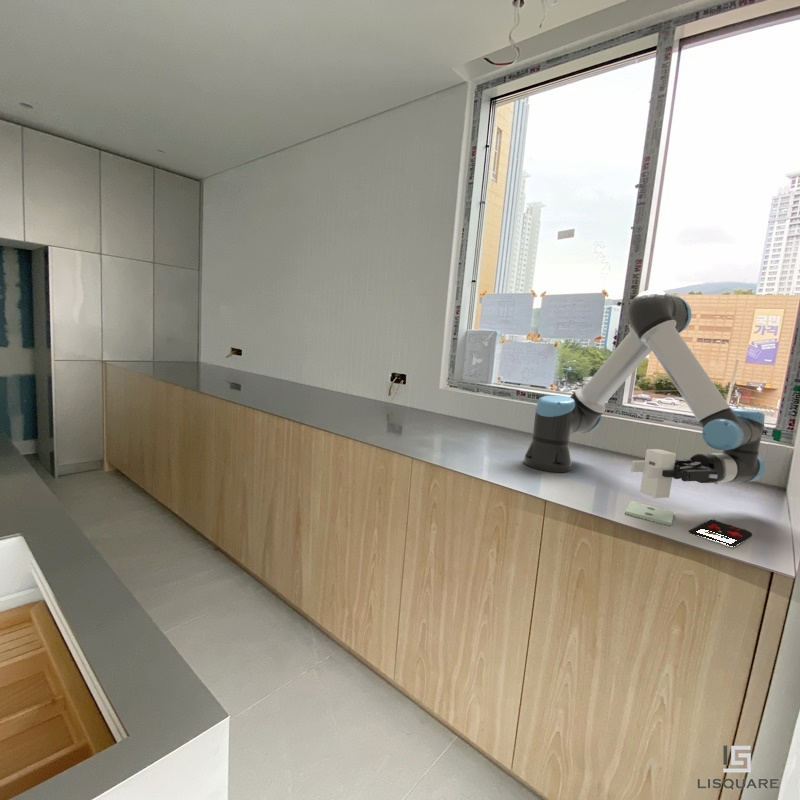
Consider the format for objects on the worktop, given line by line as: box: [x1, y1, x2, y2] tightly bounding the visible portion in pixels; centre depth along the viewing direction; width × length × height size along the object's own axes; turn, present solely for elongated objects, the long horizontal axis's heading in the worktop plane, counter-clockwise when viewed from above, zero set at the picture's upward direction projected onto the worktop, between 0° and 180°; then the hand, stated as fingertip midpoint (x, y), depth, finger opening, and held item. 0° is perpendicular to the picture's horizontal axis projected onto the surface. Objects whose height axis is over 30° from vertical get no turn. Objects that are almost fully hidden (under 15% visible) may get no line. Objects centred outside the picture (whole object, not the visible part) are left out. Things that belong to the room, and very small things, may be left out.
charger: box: [639, 448, 677, 499], centre depth 111 cm, size 4×5×11 cm
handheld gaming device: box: [688, 519, 753, 547], centre depth 104 cm, size 9×1×15 cm
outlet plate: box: [624, 500, 675, 527], centre depth 113 cm, size 10×10×1 cm
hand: (641, 469), depth 109 cm, fingers closed on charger, 4 cm apart
